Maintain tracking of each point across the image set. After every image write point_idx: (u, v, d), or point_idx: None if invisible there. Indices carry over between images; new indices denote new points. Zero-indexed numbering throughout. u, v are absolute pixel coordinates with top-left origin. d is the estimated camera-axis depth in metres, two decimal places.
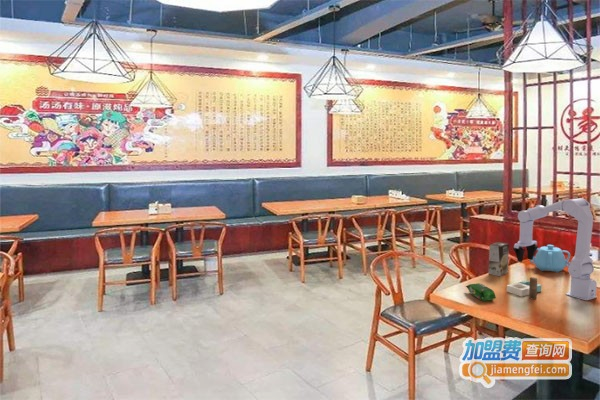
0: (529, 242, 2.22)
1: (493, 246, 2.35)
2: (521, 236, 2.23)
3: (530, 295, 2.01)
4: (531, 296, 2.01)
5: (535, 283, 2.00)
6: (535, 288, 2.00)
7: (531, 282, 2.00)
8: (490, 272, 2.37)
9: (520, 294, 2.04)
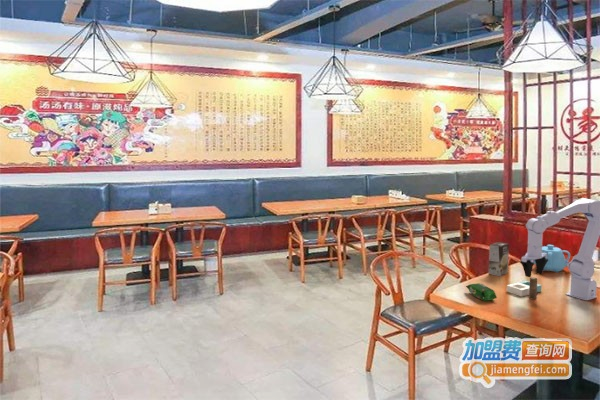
0: (538, 255, 1.97)
1: (493, 246, 2.35)
2: (529, 248, 1.98)
3: (530, 295, 2.01)
4: (531, 296, 2.01)
5: (535, 283, 2.00)
6: (535, 288, 2.00)
7: (531, 282, 2.00)
8: (490, 272, 2.37)
9: (520, 294, 2.04)
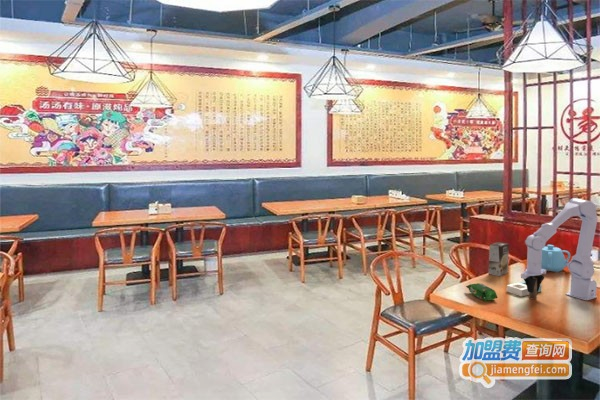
0: (538, 271, 1.97)
1: (493, 246, 2.35)
2: (529, 264, 1.99)
3: (530, 295, 2.01)
4: (531, 296, 2.01)
5: (535, 283, 2.00)
6: (535, 288, 2.00)
7: None
8: (490, 272, 2.37)
9: (520, 294, 2.04)
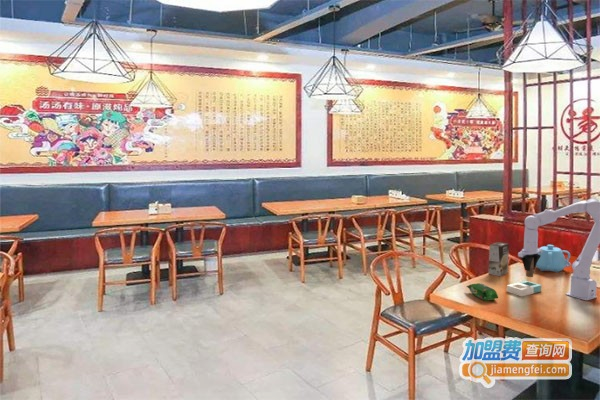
0: (534, 250, 2.07)
1: (493, 246, 2.35)
2: (525, 244, 2.08)
3: (527, 273, 2.10)
4: (528, 274, 2.10)
5: (531, 262, 2.08)
6: (531, 267, 2.09)
7: None
8: (490, 272, 2.37)
9: (520, 294, 2.04)
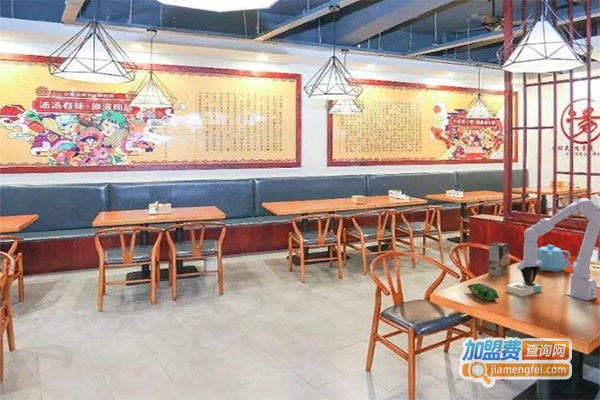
0: (534, 263, 2.07)
1: (493, 246, 2.35)
2: (525, 256, 2.09)
3: None
4: None
5: (531, 274, 2.09)
6: (531, 279, 2.10)
7: None
8: (490, 272, 2.37)
9: (520, 294, 2.04)
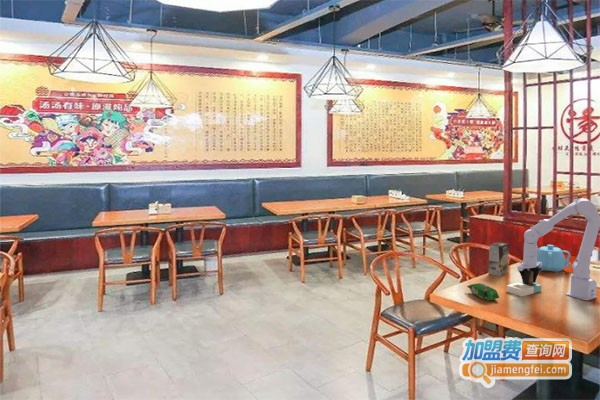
0: (534, 264, 2.07)
1: (493, 246, 2.35)
2: (525, 257, 2.09)
3: None
4: None
5: (531, 276, 2.09)
6: (531, 281, 2.10)
7: None
8: (490, 272, 2.37)
9: (520, 294, 2.04)
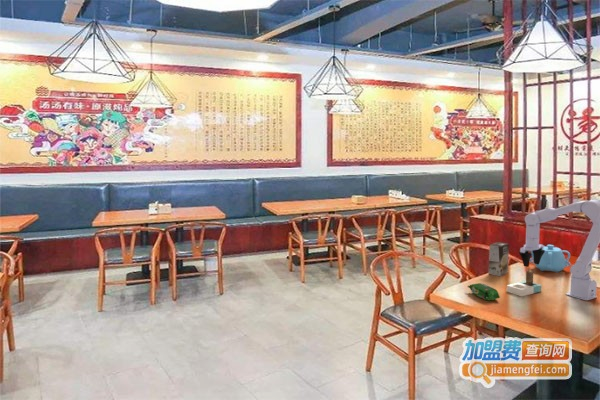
0: (536, 246, 2.12)
1: (493, 246, 2.35)
2: (527, 240, 2.14)
3: None
4: None
5: (531, 276, 2.09)
6: (531, 281, 2.10)
7: (527, 275, 2.10)
8: (490, 272, 2.37)
9: (520, 294, 2.04)
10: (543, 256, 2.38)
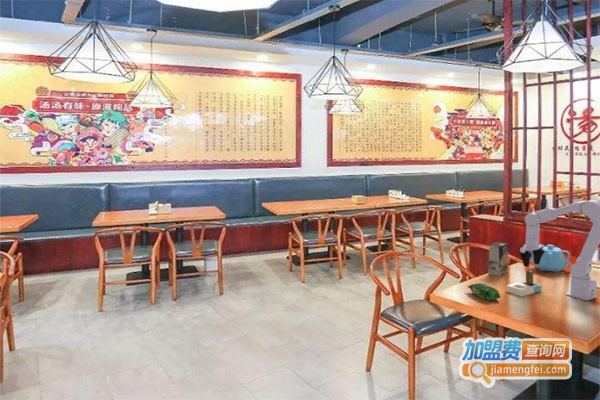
0: (536, 246, 2.12)
1: (493, 246, 2.35)
2: (527, 240, 2.14)
3: None
4: None
5: (531, 276, 2.09)
6: (531, 281, 2.10)
7: (527, 275, 2.10)
8: (490, 272, 2.37)
9: (520, 294, 2.04)
10: (543, 256, 2.38)
